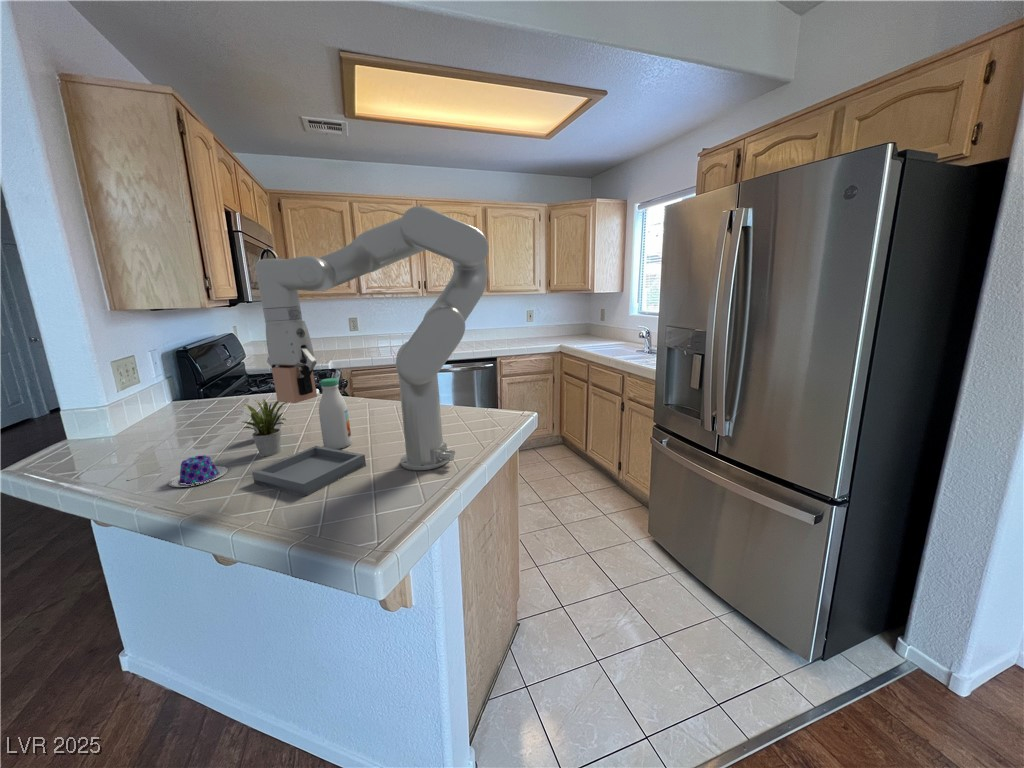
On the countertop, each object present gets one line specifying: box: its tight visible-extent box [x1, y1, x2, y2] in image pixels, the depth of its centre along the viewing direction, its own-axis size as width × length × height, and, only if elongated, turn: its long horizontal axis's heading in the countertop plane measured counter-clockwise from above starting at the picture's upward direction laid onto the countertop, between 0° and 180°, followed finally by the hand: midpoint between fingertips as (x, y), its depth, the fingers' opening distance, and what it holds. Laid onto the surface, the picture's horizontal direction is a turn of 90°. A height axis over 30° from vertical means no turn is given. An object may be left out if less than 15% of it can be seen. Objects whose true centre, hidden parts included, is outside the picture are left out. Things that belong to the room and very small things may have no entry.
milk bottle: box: [318, 377, 353, 450], centre depth 122 cm, size 8×8×20 cm
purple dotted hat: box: [168, 454, 228, 488], centre depth 105 cm, size 12×12×5 cm
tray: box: [251, 445, 367, 497], centre depth 105 cm, size 18×18×3 cm
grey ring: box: [252, 405, 283, 433], centre depth 134 cm, size 10×4×10 cm, turn 166°
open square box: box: [271, 363, 318, 404], centre depth 99 cm, size 6×6×8 cm
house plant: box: [235, 398, 288, 457], centre depth 120 cm, size 14×14×16 cm
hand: (296, 392), depth 99 cm, fingers closed on open square box, 6 cm apart
